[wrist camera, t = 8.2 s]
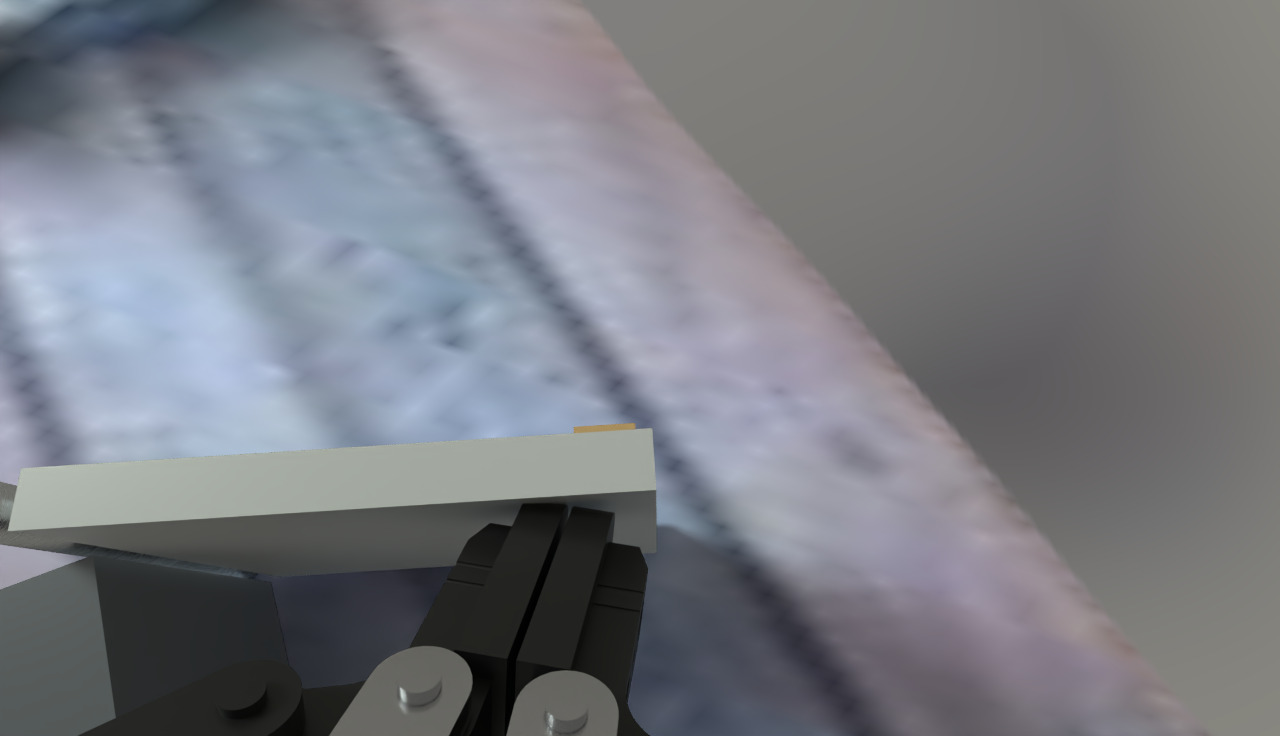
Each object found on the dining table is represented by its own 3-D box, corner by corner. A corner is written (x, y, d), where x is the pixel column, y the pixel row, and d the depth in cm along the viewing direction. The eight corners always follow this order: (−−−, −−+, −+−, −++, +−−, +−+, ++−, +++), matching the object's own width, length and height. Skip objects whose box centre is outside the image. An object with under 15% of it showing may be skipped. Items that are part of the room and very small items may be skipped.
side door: (280, 577, 21) (7, 531, 12) (286, 510, 21) (31, 420, 13) (656, 553, 21) (656, 490, 12) (652, 486, 21) (649, 381, 13)
